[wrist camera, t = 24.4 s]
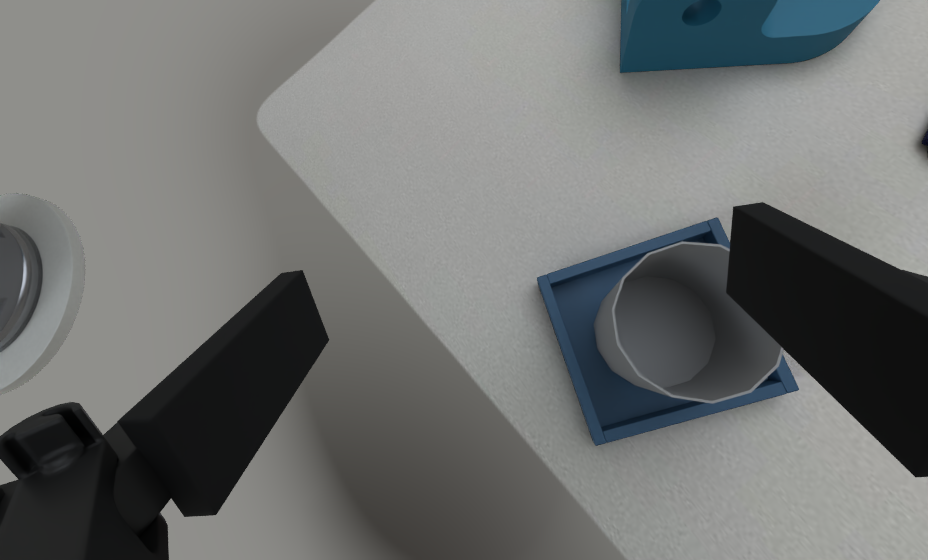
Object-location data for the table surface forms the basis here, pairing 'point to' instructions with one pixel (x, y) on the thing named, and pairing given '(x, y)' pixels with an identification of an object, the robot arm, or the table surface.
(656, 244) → the tray
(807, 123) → the table surface
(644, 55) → the camera mount
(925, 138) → the laptop
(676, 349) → the cup
